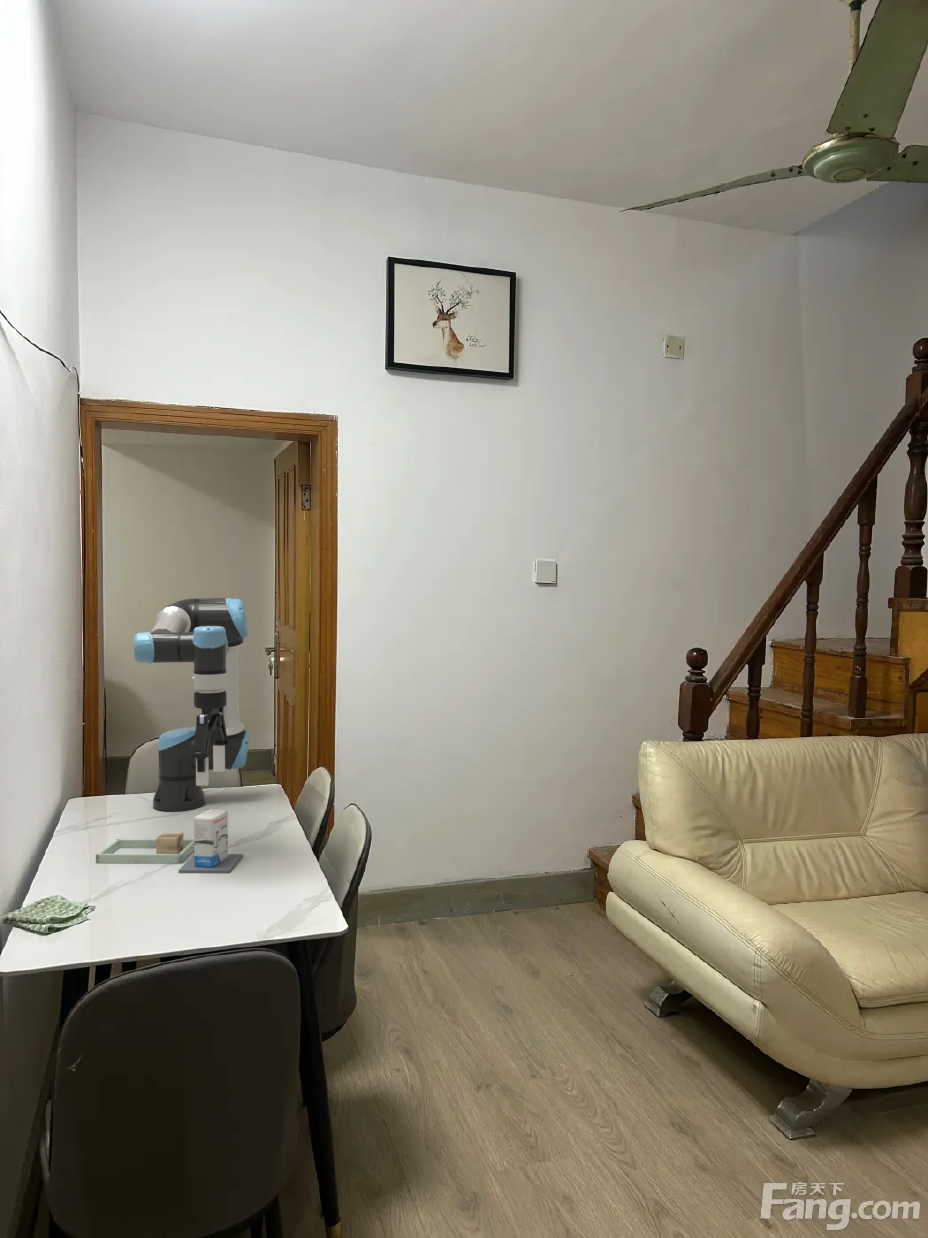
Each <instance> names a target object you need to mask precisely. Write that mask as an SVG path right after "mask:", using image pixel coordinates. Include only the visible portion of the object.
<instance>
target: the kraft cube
mask: <svg viewBox="0 0 928 1238" xmlns="http://www.w3.org/2000/svg"><path fill="white" fill-rule="evenodd" d="M155 839H156V848H155V852H156V853H155V854H179V853H180V852H181V851H182V850H183V849H184V848H183V839H184V832H162V833H161V834H160V835H159V836H158V837H156V838H155Z"/></svg>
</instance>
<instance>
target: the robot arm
mask: <svg viewBox="0 0 928 1238" xmlns="http://www.w3.org/2000/svg"><path fill="white" fill-rule="evenodd" d="M154 622H155V625H154V627H153V628H152V630H151V631H145V632H138V633H136V634H135V635H134V639H133V655H134V657H133V658H134V660H135V661H136V662H137V663H142V664H143V663H145V664H146V663H147V664H156V663H160V664H161V663H162V664H163V663H164V664H165V663H193V676H192V677H191V681H193V689H194V690H195V692H194V693H193V706H194V708H196V709H200V710H201V714H197V715H196V723H195V724H196V726H193V727H192V726H191V727H189V726H188V727H180V728H176V729H175V728H174V729H171V730H168V731H164V733H162V734H160V736H159V737H158V748H157V752H158V784H157V786H156V789H155V792H154V795H153V798H152V808H153V809H154V810H157V811H161V812H182V811H188V810H193V809H197V808H201V807H202V806H204V805H205V804H206V796H205V793H204V790H203V787H202V786H209V785H210V784H209V781H210V780H209V771H212V772H214V773H215V772H216V773H217V772H219V773H220V772H221V773H225V772H226V770H230V771H231V770H233V769H242V768H244V767H245V766H246V764H247V763H246V762H247V759H248V758H247V757H248V749H249V742H250V740H249V739H250V731H249V730H247V729H245V724H244V723H243V722H242V721H240V688H239V687H240V685H239V684H240V682H239V681H240V679H239V678H240V677H239V676H240V675H239V672H240V671H239V648H240V647H241V646H242V645H243V644H244V639H246V638H248V636H249V628H248V620H247V614H246V608H245V604H244V601H242V600H241V599H239V598H229V597H221V598H220V597H213V598H212V597H211V598H207V597H205V598H193V597H191V598H186V599H185V598H184V599H180V600H177V601H175V602H172V603H170V604H167V605H166V606H165V607H163V608H162V609H161V610H160V611H159V612H158V613H157V615H156V618H155V621H154Z"/></svg>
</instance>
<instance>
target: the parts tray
mask: <svg viewBox="0 0 928 1238" xmlns="http://www.w3.org/2000/svg"><path fill="white" fill-rule="evenodd" d="M118 849H156V838H151V839H149V838H148V839H147V838H145V839H144V838H136V839H135V838H127V839H126V838H123V839H122V838H117V839H115V840H114V841H113V842H111V843H110V844H109V845H107V846H105V848H103V849H101V850H100V851H99V852H98V853H96V854H95V864H182V863H183V862H184V860H185V859H187V858H188V857H189V856H190V855H191V854H192V853H194V838H193V839H190V838H189V839H188V838H186V839H185V838H183V850H182V851H181V852H180V853H179V854H156V853H114V852H115V851H117V850H118Z"/></svg>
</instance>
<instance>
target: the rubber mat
mask: <svg viewBox="0 0 928 1238" xmlns="http://www.w3.org/2000/svg"><path fill="white" fill-rule="evenodd" d="M243 857H244V853H228V857H227V858H226V859H224V860H223V861H221V862H220V863H218V864H217V865H215V866H214V867H198V866H195V860H194V854H193V855H192V856H191V857H190V858H189V859H188V860H187V861H186V862H185V863H184V864H183V865H182V866H181V867H180V868H179V869H178V874H230V873H231V872H232V870H234V869H235V868H236V865H238V864H239V862H240V861H241V860H242V858H243Z"/></svg>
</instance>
